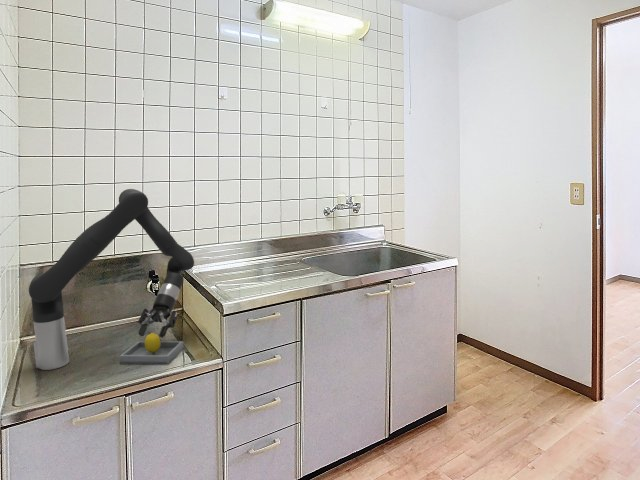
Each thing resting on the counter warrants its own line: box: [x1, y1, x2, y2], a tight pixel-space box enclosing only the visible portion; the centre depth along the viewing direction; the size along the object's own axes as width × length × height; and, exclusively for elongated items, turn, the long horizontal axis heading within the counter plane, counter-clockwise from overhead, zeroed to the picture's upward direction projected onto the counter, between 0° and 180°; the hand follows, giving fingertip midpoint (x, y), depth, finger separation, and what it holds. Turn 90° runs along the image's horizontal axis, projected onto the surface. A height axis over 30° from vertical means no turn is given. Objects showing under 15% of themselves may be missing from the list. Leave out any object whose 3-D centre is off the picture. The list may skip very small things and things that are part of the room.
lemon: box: [144, 332, 161, 354], centre depth 157 cm, size 6×6×8 cm
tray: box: [118, 340, 185, 366], centre depth 158 cm, size 18×14×3 cm
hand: (150, 336), depth 156 cm, fingers open, 8 cm apart
